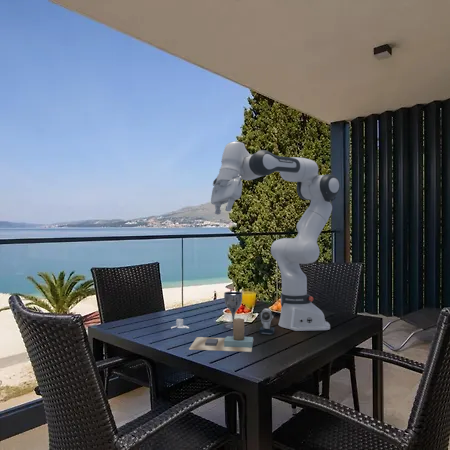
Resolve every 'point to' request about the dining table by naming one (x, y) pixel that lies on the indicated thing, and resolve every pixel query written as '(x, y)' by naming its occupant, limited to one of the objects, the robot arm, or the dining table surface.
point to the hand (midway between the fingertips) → (222, 212)
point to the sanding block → (238, 336)
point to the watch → (266, 322)
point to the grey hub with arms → (179, 324)
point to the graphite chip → (211, 342)
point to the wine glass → (232, 303)
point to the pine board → (200, 345)
